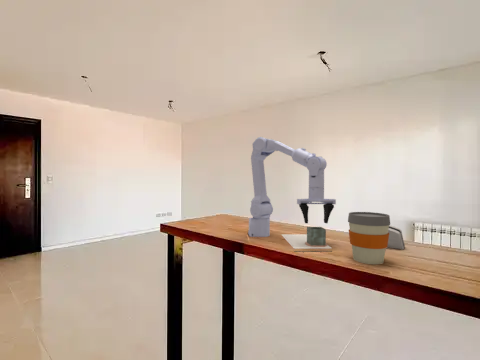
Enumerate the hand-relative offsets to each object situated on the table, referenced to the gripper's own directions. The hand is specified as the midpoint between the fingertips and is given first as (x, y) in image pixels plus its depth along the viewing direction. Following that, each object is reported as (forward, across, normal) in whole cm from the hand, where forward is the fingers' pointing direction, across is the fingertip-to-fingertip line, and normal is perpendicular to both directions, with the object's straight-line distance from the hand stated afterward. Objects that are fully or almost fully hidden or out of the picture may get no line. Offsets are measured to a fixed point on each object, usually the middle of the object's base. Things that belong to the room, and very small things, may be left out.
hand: (316, 223), depth 104 cm
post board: (+9, -3, +6) cm, 11 cm away
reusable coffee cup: (+10, +12, -16) cm, 22 cm away
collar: (+8, 0, 0) cm, 8 cm away
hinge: (+10, +27, +2) cm, 29 cm away
